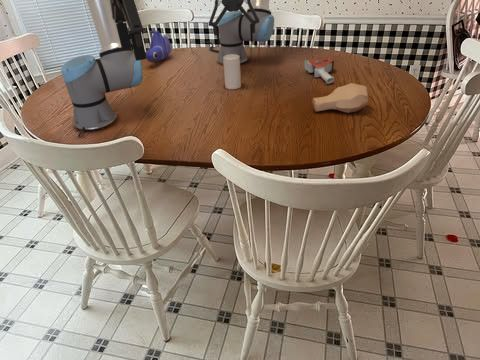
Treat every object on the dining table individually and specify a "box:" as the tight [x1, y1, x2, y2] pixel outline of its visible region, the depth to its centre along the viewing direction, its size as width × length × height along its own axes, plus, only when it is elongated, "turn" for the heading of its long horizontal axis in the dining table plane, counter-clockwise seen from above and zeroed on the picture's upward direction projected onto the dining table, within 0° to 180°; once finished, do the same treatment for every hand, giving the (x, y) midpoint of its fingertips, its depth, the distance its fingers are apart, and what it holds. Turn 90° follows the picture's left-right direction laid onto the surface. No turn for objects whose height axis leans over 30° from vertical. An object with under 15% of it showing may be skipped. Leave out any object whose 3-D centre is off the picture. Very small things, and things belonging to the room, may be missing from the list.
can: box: [223, 54, 242, 90], centre depth 152 cm, size 7×7×13 cm
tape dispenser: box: [304, 56, 335, 85], centre depth 159 cm, size 18×5×20 cm
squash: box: [312, 82, 369, 113], centre depth 129 cm, size 11×20×9 cm, turn 92°
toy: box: [145, 30, 172, 67], centre depth 185 cm, size 10×17×25 cm
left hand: (133, 53), depth 97 cm, fingers open, 13 cm apart
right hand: (235, 42), depth 146 cm, fingers open, 13 cm apart
